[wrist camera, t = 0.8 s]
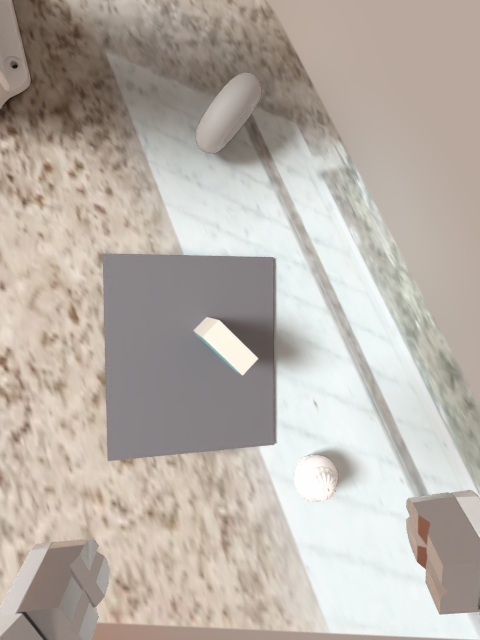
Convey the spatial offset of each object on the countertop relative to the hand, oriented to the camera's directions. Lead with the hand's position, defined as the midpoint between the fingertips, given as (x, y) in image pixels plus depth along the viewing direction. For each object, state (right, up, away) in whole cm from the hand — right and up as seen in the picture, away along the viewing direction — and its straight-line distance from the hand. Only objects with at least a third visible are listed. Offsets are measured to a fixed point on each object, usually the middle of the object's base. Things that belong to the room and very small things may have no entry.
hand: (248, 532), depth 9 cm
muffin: (+9, -16, +44) cm, 47 cm away
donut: (-3, +30, +39) cm, 49 cm away
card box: (-3, +3, +39) cm, 39 cm away
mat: (-6, +1, +39) cm, 40 cm away
